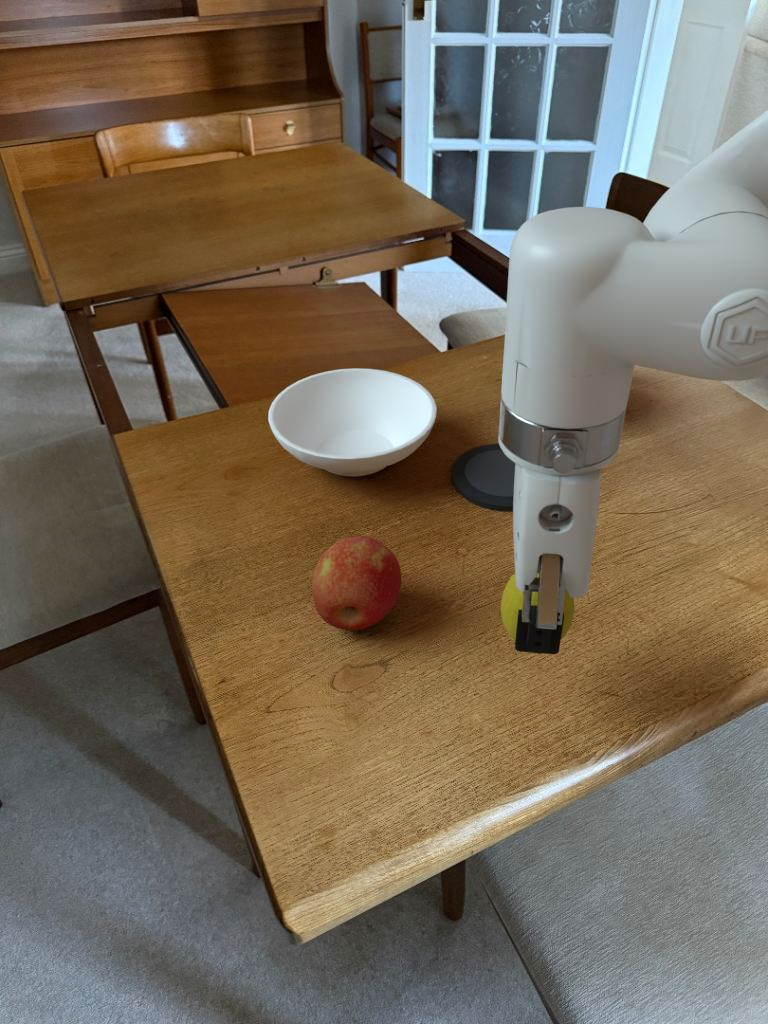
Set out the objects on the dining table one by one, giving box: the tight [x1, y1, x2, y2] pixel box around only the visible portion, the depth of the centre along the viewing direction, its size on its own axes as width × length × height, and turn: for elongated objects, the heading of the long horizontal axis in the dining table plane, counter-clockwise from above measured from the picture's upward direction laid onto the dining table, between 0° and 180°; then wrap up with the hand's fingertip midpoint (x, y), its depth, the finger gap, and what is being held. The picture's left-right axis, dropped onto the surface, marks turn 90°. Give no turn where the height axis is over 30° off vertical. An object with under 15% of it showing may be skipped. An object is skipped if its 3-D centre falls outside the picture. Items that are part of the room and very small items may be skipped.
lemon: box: [500, 573, 575, 641], centre depth 57 cm, size 6×6×8 cm
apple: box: [311, 535, 402, 631], centre depth 68 cm, size 8×8×8 cm
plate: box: [451, 443, 515, 512], centre depth 86 cm, size 12×12×1 cm
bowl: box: [267, 367, 438, 477], centre depth 88 cm, size 20×20×7 cm
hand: (536, 616), depth 58 cm, fingers closed on lemon, 5 cm apart
